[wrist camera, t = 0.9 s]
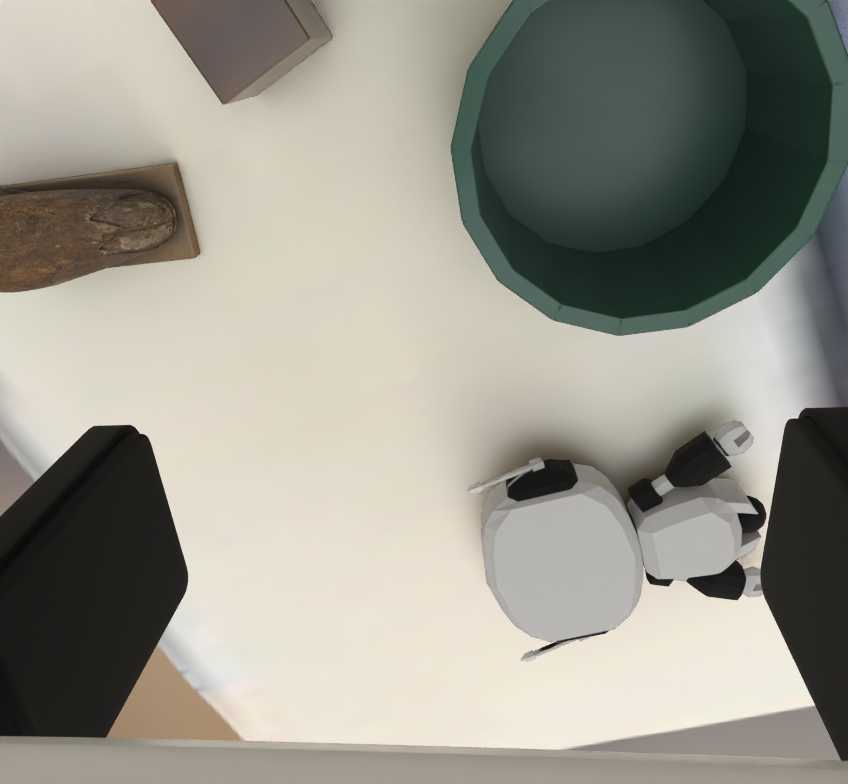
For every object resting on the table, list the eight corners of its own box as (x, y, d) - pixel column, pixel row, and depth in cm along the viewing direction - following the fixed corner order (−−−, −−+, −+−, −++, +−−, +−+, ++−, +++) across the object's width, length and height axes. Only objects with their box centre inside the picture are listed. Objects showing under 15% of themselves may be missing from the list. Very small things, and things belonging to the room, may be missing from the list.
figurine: (-47, 281, 38) (-186, 346, 30) (-84, 196, 36) (-244, 242, 28) (203, 253, 36) (123, 315, 28) (178, 161, 34) (84, 200, 26)
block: (192, 3, 31) (148, -1, 27) (271, -64, 29) (237, -78, 25) (255, 96, 32) (222, 105, 28) (333, 37, 31) (310, 38, 27)
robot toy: (732, 384, 37) (454, 452, 39) (768, 426, 33) (456, 500, 35) (754, 564, 42) (507, 616, 44) (788, 619, 38) (514, 674, 40)
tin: (410, 74, 31) (380, 90, 23) (685, -120, 27) (763, -181, 19) (548, 308, 35) (564, 389, 27) (804, 169, 31) (908, 218, 24)
